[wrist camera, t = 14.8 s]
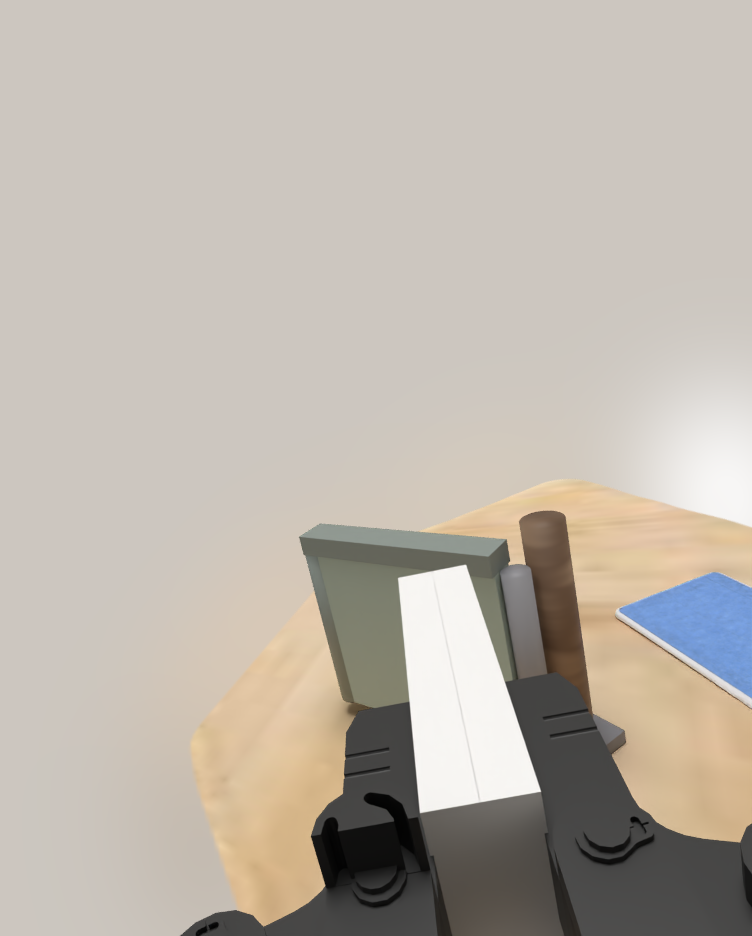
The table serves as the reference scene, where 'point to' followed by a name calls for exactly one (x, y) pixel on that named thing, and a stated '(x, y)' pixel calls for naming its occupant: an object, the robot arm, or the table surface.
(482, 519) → the table surface
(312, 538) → the panel
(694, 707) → the table surface
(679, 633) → the tablet computer
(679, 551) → the table surface
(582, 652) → the hinge post
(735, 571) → the table surface
